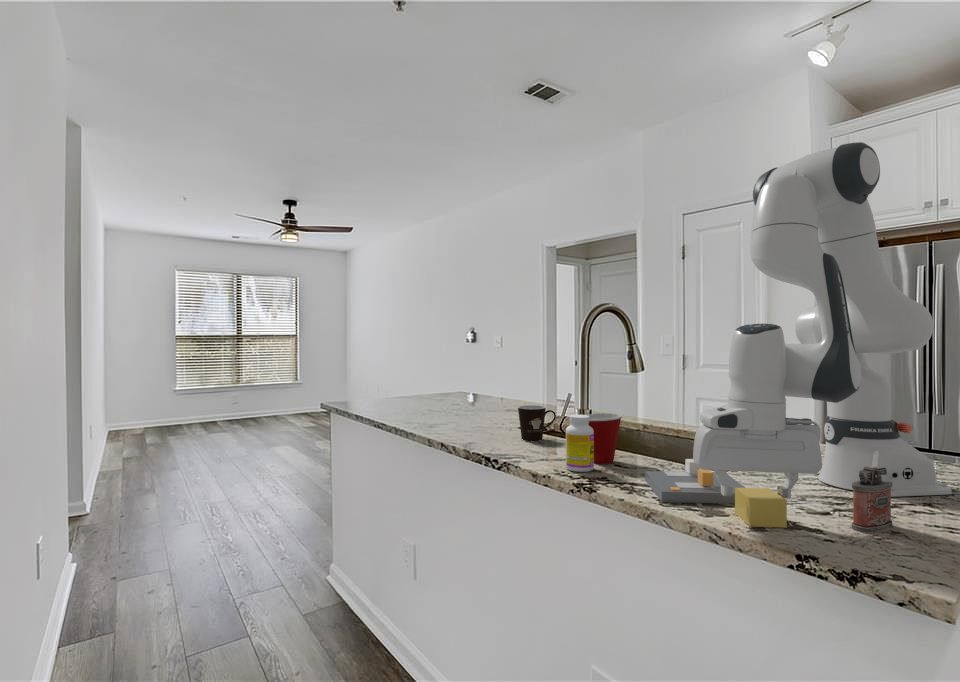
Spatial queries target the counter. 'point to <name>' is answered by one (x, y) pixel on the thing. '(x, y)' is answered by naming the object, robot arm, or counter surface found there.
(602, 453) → the plastic cup
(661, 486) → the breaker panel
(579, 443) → the supplement bottle
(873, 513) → the lighter
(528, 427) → the coffee mug
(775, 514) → the yellow block
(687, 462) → the toggle white
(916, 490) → the robot arm
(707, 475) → the block
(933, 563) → the counter surface
